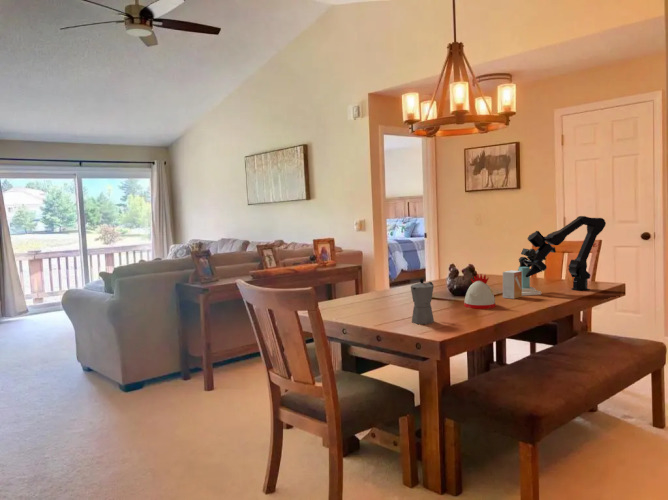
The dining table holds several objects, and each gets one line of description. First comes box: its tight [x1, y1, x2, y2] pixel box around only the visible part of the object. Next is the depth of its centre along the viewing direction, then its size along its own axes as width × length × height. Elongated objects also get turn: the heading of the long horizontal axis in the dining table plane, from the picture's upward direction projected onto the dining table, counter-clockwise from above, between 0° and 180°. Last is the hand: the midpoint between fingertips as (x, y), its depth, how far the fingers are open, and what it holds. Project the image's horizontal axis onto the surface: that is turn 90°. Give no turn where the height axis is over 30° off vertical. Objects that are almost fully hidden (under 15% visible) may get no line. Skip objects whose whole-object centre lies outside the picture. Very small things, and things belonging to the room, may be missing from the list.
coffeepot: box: [410, 277, 435, 325], centre depth 214 cm, size 15×9×18 cm, turn 141°
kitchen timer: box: [463, 273, 496, 310], centre depth 241 cm, size 14×14×15 cm
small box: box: [502, 269, 523, 300], centre depth 259 cm, size 8×6×13 cm
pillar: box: [517, 266, 531, 289], centre depth 269 cm, size 4×4×12 cm
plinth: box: [522, 286, 542, 297], centre depth 269 cm, size 12×12×3 cm
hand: (521, 275), depth 268 cm, fingers open, 9 cm apart
